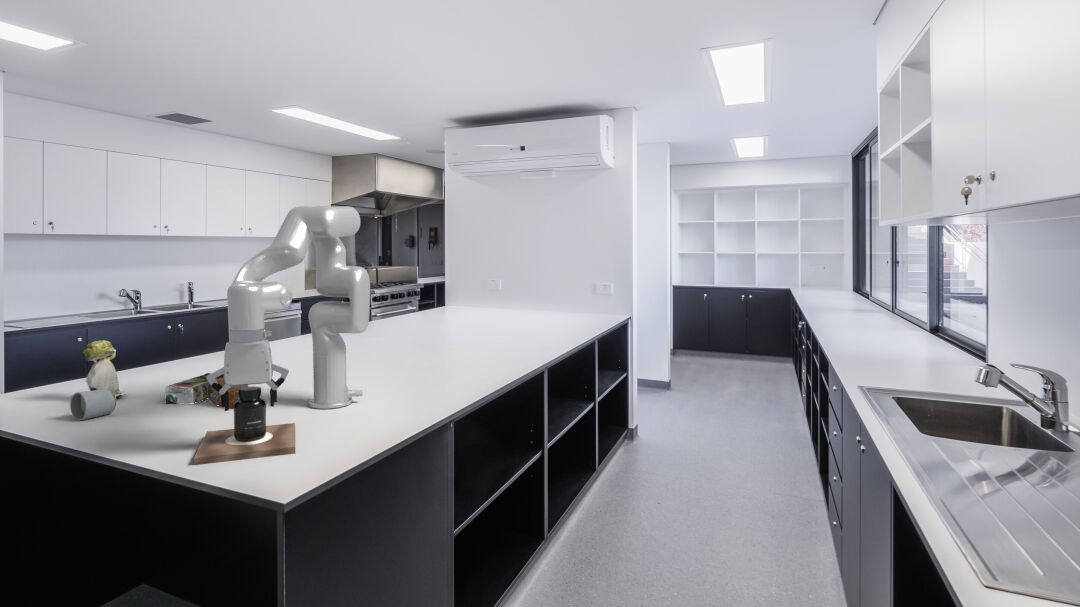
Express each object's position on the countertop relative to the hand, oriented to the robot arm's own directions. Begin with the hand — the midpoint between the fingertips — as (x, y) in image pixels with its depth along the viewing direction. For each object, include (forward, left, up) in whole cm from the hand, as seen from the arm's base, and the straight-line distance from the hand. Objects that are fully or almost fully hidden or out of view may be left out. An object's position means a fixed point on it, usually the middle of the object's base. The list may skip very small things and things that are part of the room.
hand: (250, 407), depth 133 cm
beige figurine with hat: (+45, -63, -9) cm, 78 cm away
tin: (+8, -41, -9) cm, 42 cm away
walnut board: (0, 0, -9) cm, 9 cm away
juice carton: (+18, -57, -10) cm, 61 cm away
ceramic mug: (+42, -42, -9) cm, 60 cm away
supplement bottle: (0, 0, -8) cm, 8 cm away
